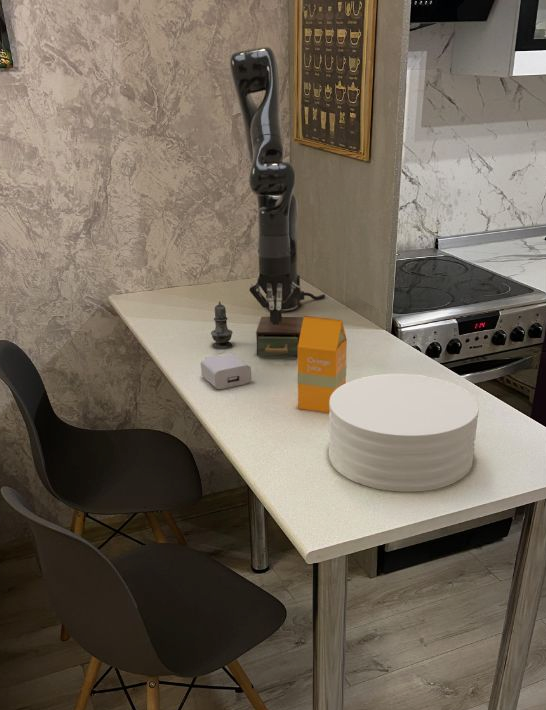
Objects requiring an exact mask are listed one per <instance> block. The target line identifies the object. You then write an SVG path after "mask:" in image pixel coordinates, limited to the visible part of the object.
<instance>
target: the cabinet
mask: <svg viewBox="0 0 546 710" xmlns="http://www.w3.org/2000/svg"><path fill="white" fill-rule="evenodd" d="M303 317H304V316H282V321H281V322H279V325H273V322H271V321H270V316H261V317H260V319H259V322H258V326H257V329H256V331H255V338H256V356H259V355H258V337H261V335H298V343H299V338H300V333H301V328H302V322H303Z"/></svg>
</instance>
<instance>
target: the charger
mask: <svg viewBox="0 0 546 710" xmlns="http://www.w3.org/2000/svg"><path fill="white" fill-rule="evenodd" d="M200 370H201V376H202V377H203V378H204V379H205V380H206V381H207V382H208V383H210V385H212V386H213V387H214V388H215V389H217V390H224V389H229V388H233V387H238V386H243V385H247V384H250V382H251V381H252V367H251V366H250V365H249V364H248V363H246V362H245V361H244V360H243V359H241V358H240V357H238V356H237V355H236V354H235V353H227V354H221V355H219V354H215V355H210V356H205V357H204V359H202V360H201V361H200Z"/></svg>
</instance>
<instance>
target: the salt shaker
mask: <svg viewBox="0 0 546 710" xmlns="http://www.w3.org/2000/svg"><path fill="white" fill-rule="evenodd" d="M226 309H227V308H226V306H225V305H224V304H222V303H221V301H218V304H217V305H215V306H214V316H215V317H214V318H213V320H214V324H215V325H214V326H215V327H214V330H212V331H210V335H211V338H212V340H213V341H214V343H213V344H212V347H213V348H215V349H219V350H223V349H229V348H231V347H233V343H232V342H231V341H230V340H231V339H232V334H233V333H234V332H233V330H232V329H229V328H228V322H227V320H228V317H227V310H226Z"/></svg>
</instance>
